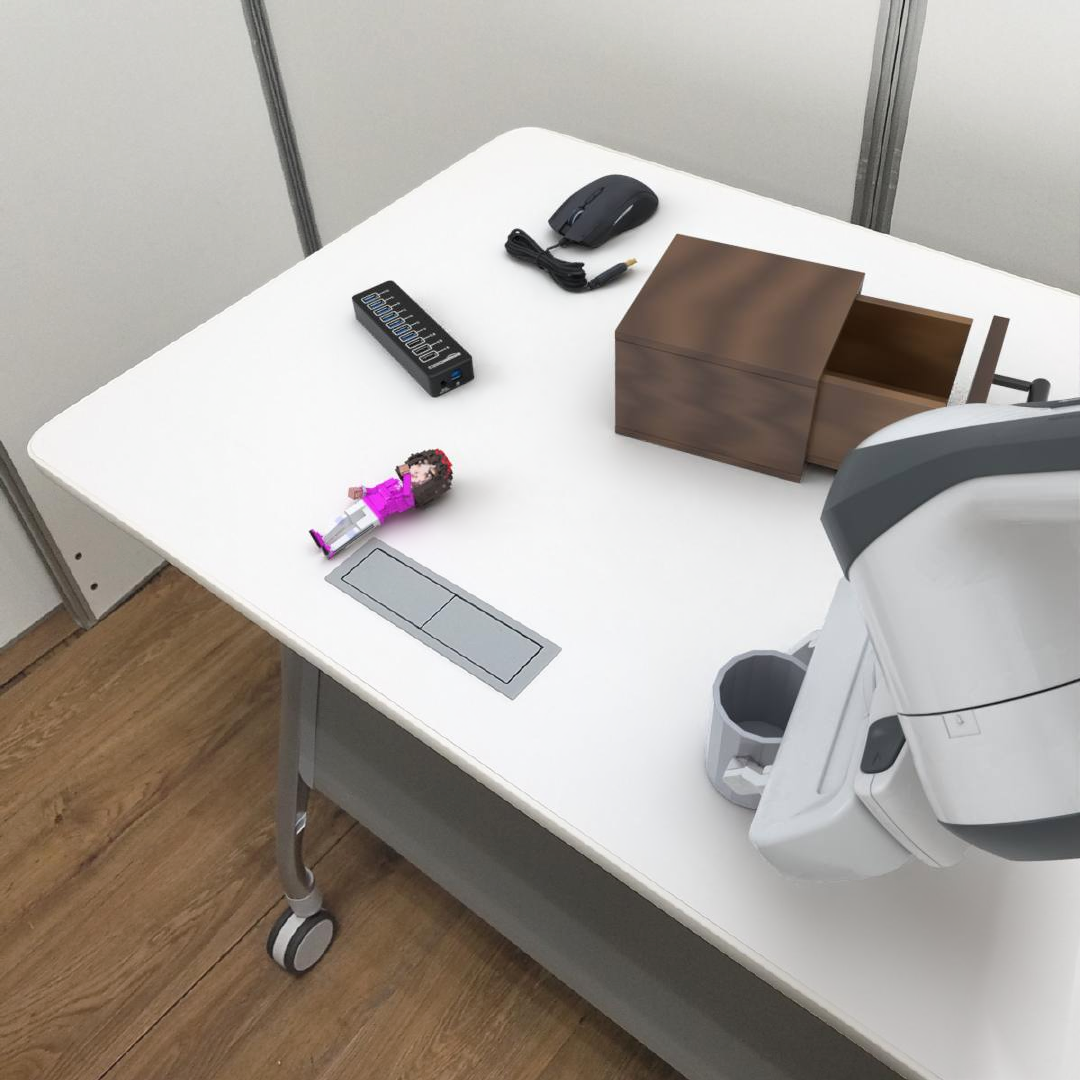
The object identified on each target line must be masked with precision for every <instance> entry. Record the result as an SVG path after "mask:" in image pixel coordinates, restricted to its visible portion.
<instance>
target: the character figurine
mask: <svg viewBox="0 0 1080 1080" xmlns="http://www.w3.org/2000/svg"><path fill="white" fill-rule="evenodd" d="M452 467H453V463H452V462H451V461H450V459H449V457H448V455H446V454H445V452H444V451H443V450H442V449H439V448H438V447H437V448H436V449H431V448H429V449H428V450H426V449H424V450H422V451H420V452H418V451H417V452H415V453H411V454H410V456H409V457H407V459H406V460H405V461H404V464H401V465H396V466H395V469H394V471H395V473H396V475H397V476H398V478H394V477H390V478H389V479H386V480H384V481H383V482H381V483H379V484H376V485H375V486H374V487H366V486H365V485H363V484H360V485H359V486H353V487H348V491H347V497H348V498H350V499H351V500H352V501H355V500H357V501H355V503H354V504H353V505H351V506H350V507H348V508H347V509H345V510H344V513H342V514H341V515H340V516H338V517H337V518H335V519H334V520H333V521H332V522H331V523H330V524H329V525H328V526H327V527H325V528H324V530H322V531H321V532H319V531H318V530H317V531H316V530H315V529H314V528H311V529H310V530H308V533H309V535H310V536H311V538H312V540H313V541H314V544H315V545H316V546H317V547H318V548H319V549H322V553H323V555H324V557H326V559H327V560H330V559H331V558H332V557H334V556H335V555H337V554H338V553H340V552H341V551H342V550H344V549H347V548H349V547H350V546H351V545H352V544H354V543H355V542H357V541H358V540H360V539H361V538H363V536H365V535H366V534H368V533H369V532H371V531H373V530H374V529H375V528H376V527H377V526H378V527H380V526H381V525H383V524H384V523H385V519H386V518H388V517H389V515H391V514H393V513H395V512H398V513H400V514H401V513H402V512H404V511H407V510H408V509H410V508H412V507H414V506H415V509H419V510H422V509H423V508H425V507H427V506H429V505H431V503H433V502H435V501H437V500H439V499H440V498H441V496H442V495H443V494H445V493H446V492H447V491H449V490H451V489H452V487H451V486H452V482H453V480H454V476H453V475H454V472H453V470H452ZM351 526H354V527H353V528H352V529H350V530H348V532H346V533H345V534H343V535H342V536H341V537H339V536H340V535H341V534H342V533H343V532H344V531H345V530H347V529H348V528H350V527H351ZM335 537H336V538H338V537H339V538H338V539H337V540H336V541H333V542H332V543H331V544H329V543H330V542H331V541H332V540H333V539H334V538H335Z"/></svg>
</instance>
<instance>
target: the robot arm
mask: <svg viewBox="0 0 1080 1080" xmlns="http://www.w3.org/2000/svg"><path fill="white" fill-rule="evenodd" d="M819 520H820V523H821V525H822V528H823V529H824V532H825V534H826V537H827V539H828V541H829V543H830V546H831V548H832V550H833V553H834V555H835V558H836V559H837V562H838V564H839V567H840V569H841V571H842V573H843V576H842V577H841V578H840V579H839V580H838V582H837V583H836V587H835V590H834V592H833V593H834V594H833V596H832V598H831V601H830V603H829V607H828V610H827V613H826V616H825V618H824V621H823V624H822V627H821V629H817V630H813V631H812V632H811V633H809V634H808V635H806V636H805V637H804V638H802V639H801V640H800V641H799V642H797V643H796V644H795V645H793V646H792V647H790V648H789V649H788V651H785V652H783V653H785V654H788V655H791V656H794V657H796V658H797V659H799V660H800V661H801V662H803V663H804V664H806V665H807V666H808V668H807V671H806V674H805V677H804V679H803V682H802V685H801V688H800V691H799V693H798V696H797V699H796V702H795V705H794V707H793V710H792V713H791V716H790V719H789V721H788V724H787V727H786V730H785V732H784V735H783V738H782V741H781V744H780V746H779V749H778V752H777V755H776V758H775V760H774V763H773V765H769V766H766V767H764V768H763V767H762V766H758V764H757V762H756V761H755V760H754V759H753V758H752V757H751V756H750V755H745V756H740V757H739V758H737V757H736V756H735V757H732V758H731V759H730V761H729V764H728V766H727V768H726V771H725V773H724V776H723V778H722V779H723V782H724V783H725V784H727V785H728V786H729V787H730V788H731V789H732V790H733V791H734V792H735V793H737V794H740V795H748V794H757V793H759V794H760V795H761V796H762V797H761V799H760V802H759V805H758V808H757V809H756V811H755V814H754V816H753V818H752V822H751V824H750V827H749V831H748V838H749V841H750V843H751V844H752V845H753V847H754V848H755V850H756V851H757V853H759V854H760V856H761V857H762V858H763V859H764V860H765V861H766V863H768V864H769V865H770V866H771V867H772V868H773V869H775V870H776V871H777V872H778V873H779V874H781V875H782V876H783V877H785V878H786V879H789V880H790V881H792V882H796V883H803V884H819V883H822V884H823V883H836V882H847V881H855V880H856V881H857V880H863V879H869V878H875V877H880V876H882V875H886V874H889V873H892V872H894V871H896V870H897V869H899V868H900V867H902V866H903V865H904V864H905V863H907V861H909V860H910V859H911V858H912V857H913V856H914V857H916V858H917V859H918V860H920V861H921V862H922V863H924V864H925V865H927V866H929V867H931V868H949V867H953V866H956V865H957V864H959V863H960V862H961V861H962V860H963V859H964V857H965V856H966V854H967V853H968V851H969V849H970V848H971V846H973V847H975V848H978V849H979V850H982V851H985V852H986V853H990V854H992V855H994V856H996V857H999V858H1001V859H1002V858H1003V859H1004V860H1007V861H1011V862H1049V861H1050V862H1051V861H1067V860H1078V859H1080V396H1079V397H1071V398H1065V399H1056V400H1048V401H1043V402H1026V401H1025V402H1017V403H1012V404H1011V403H1010V404H1001V403H989V402H986V403H973V404H965V403H962V404H954V405H953V404H952V405H947V407H942V408H937V409H933V410H929V411H926V412H922V413H919V414H915V415H912V416H910V417H907V418H905V419H902V420H899V421H897V422H895V423H892V424H890V425H888V426H886V427H884V428H882V429H881V430H879V431H877V432H875V433H874V434H872V435H871V436H869V437H868V438H867V439H865V440H864V441H863V442H862V443H861V444H859V445H858V446H857V447H856V448H854V449H851V450H849V451H848V453H847V455H846V456H845V458H844V460H843V462H842V463H841V465H840V467H839V469H838V470H837V472H836V473H835V476H834V478H833V480H832V483H831V484H830V487H829V490H828V492H827V496H826V498H825V501H824V504H823V507H822V511H821V513H820V517H819Z"/></svg>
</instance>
